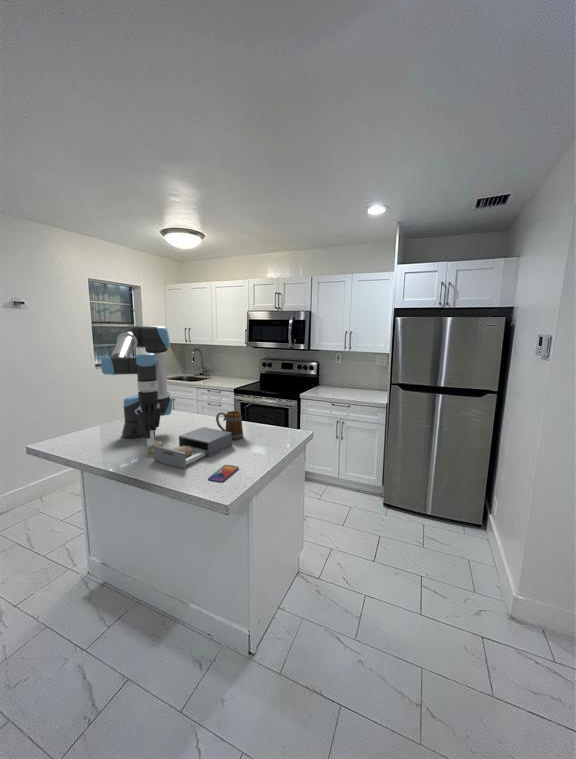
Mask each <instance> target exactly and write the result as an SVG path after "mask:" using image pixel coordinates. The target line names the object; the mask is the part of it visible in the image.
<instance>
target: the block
mask: <svg viewBox="0 0 576 759" xmlns="http://www.w3.org/2000/svg"><path fill="white" fill-rule="evenodd" d="M154 445H156V446H160V447H164V442H163V441H160V440H154ZM154 445H153V446H154ZM153 446H149V445H147V453H148V454H151V455H154V453H153Z"/></svg>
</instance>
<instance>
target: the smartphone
mask: <svg viewBox="0 0 576 759" xmlns="http://www.w3.org/2000/svg"><path fill="white" fill-rule="evenodd" d="M239 468H240V467H239V466H235V465H230V464H224V465H223V466H221V467H220V468H218V469H217V471H215V472H214V473H213V474H211V475H210V476H209V477H208V478H207V480H208V481H209V482H216V483H220V482H222V483H224V482H225V480H226V481H227V480H229V478H230V477H231V476H232V475H234V474H235V473H236V472H237V471H239Z"/></svg>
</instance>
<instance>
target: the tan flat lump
mask: <svg viewBox="0 0 576 759" xmlns="http://www.w3.org/2000/svg"><path fill="white" fill-rule="evenodd" d="M176 447H177V448H176ZM176 447H173V448H174V449H173V448H171V449H172V450H176V451H180V452H184V453H186V458H188V457H191V456H192V448H191V447H187V446H182V447H178V446H176Z"/></svg>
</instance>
